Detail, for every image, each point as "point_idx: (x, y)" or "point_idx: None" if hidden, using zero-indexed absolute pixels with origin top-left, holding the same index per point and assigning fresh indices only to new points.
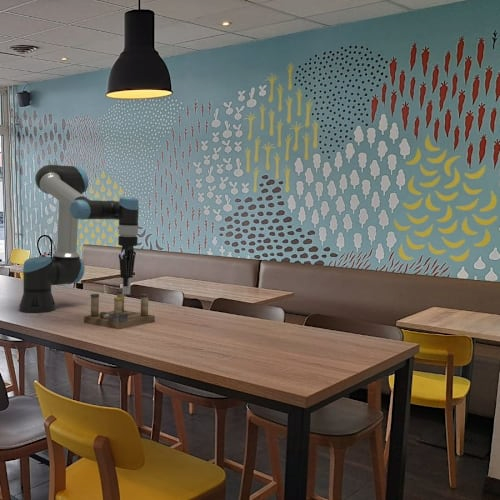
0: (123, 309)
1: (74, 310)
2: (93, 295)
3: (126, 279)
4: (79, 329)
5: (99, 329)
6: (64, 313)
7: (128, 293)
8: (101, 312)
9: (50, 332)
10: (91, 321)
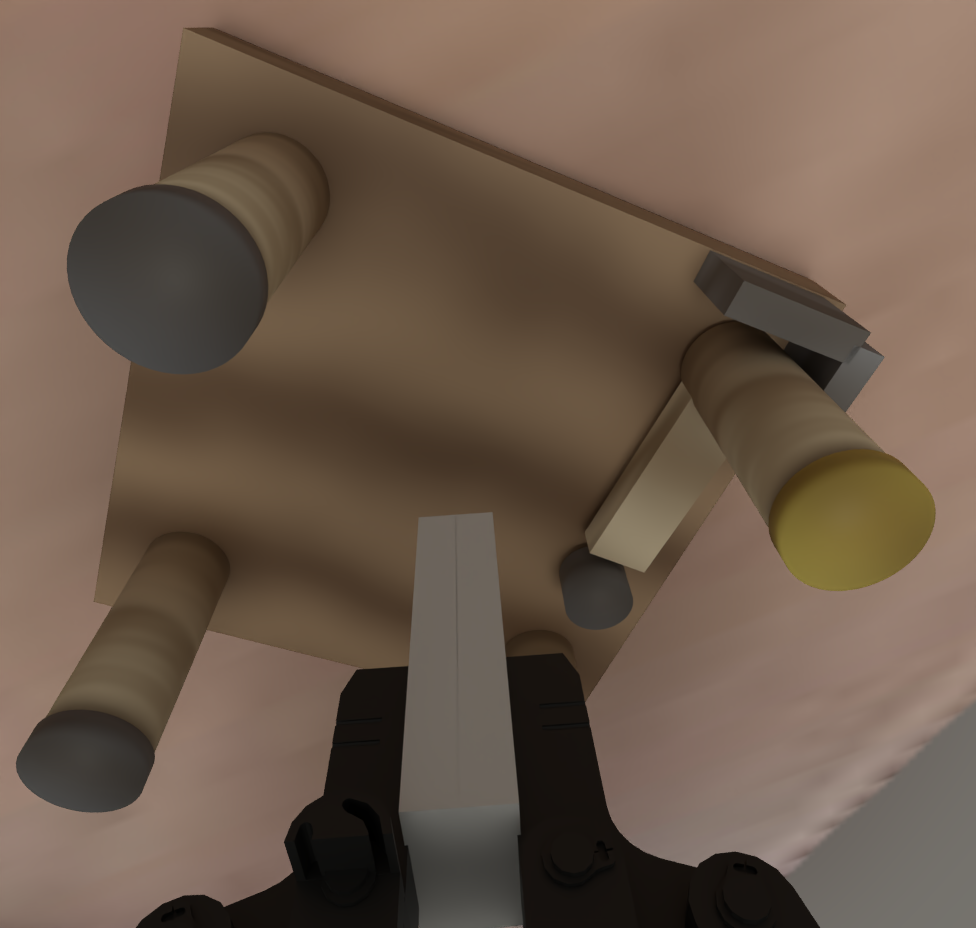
0: (177, 548)
1: (157, 890)
2: None
3: (603, 811)
4: (834, 593)
5: None
6: None
7: (491, 530)
8: (605, 617)
9: (963, 702)
10: None
